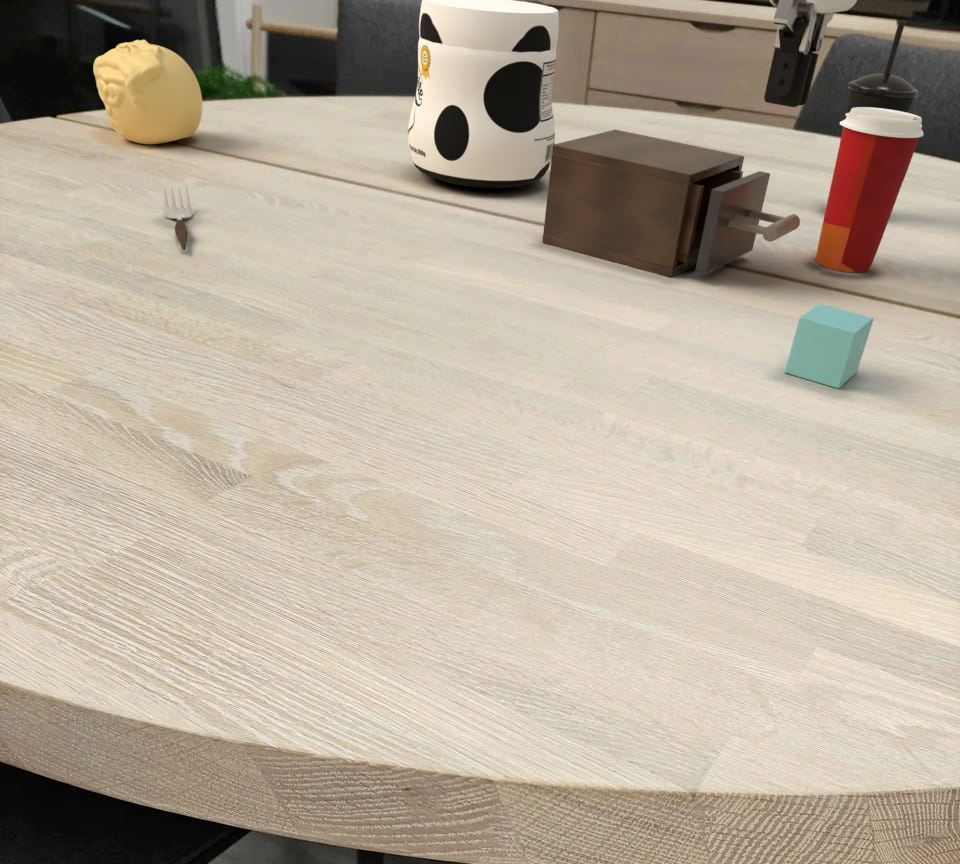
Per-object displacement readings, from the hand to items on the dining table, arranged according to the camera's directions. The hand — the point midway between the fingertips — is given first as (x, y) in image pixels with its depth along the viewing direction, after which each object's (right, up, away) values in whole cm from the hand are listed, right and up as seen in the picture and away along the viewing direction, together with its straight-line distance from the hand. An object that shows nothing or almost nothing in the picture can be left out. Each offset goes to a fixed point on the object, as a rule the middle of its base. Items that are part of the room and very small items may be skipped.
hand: (784, 102), depth 88 cm
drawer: (-6, -9, +11) cm, 15 cm away
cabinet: (-11, -7, +14) cm, 19 cm away
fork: (-56, -9, +7) cm, 57 cm away
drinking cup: (+18, +4, +33) cm, 38 cm away
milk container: (-27, +8, +32) cm, 43 cm away
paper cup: (+11, -9, +15) cm, 20 cm away
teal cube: (0, -27, -10) cm, 28 cm away
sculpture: (-68, +15, +36) cm, 78 cm away
